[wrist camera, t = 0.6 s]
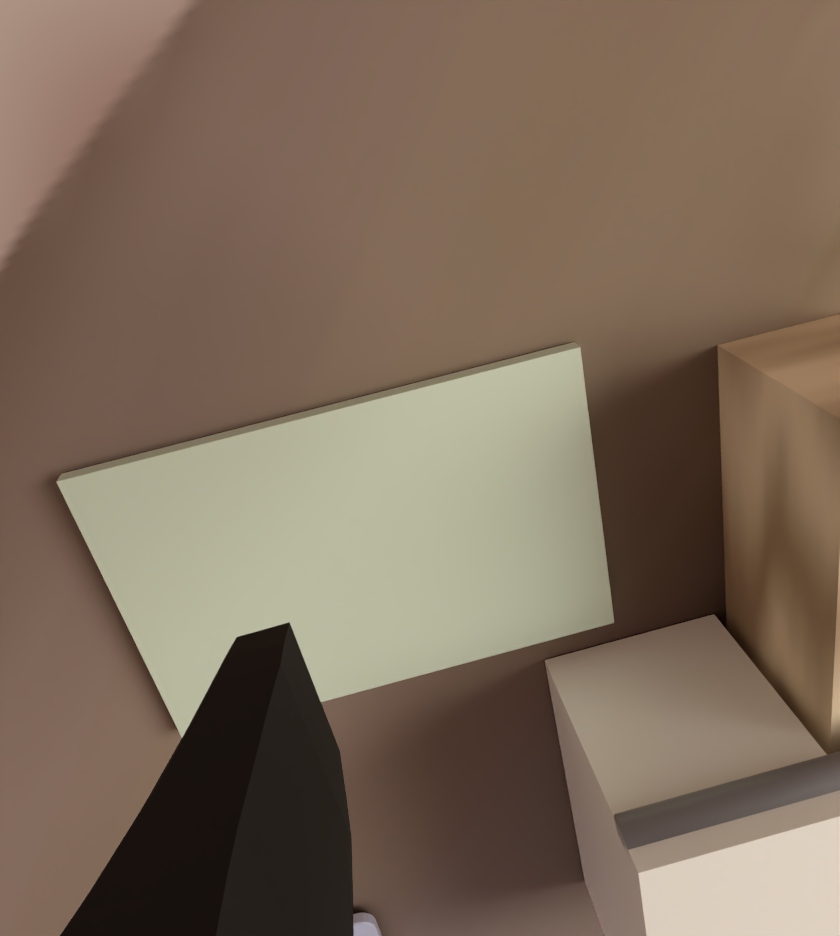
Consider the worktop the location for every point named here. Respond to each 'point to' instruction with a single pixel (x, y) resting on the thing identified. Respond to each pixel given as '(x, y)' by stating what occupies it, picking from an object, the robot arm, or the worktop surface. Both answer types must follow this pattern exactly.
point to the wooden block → (785, 513)
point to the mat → (361, 531)
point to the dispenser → (695, 790)
